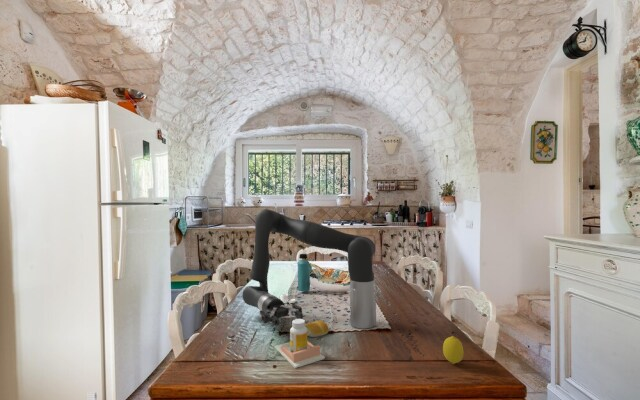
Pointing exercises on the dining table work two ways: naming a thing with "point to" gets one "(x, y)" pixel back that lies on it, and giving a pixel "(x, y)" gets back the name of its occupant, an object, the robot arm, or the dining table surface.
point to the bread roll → (316, 328)
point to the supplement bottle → (298, 335)
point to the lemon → (453, 350)
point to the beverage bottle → (303, 274)
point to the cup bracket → (300, 354)
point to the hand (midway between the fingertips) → (290, 320)
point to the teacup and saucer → (286, 298)
